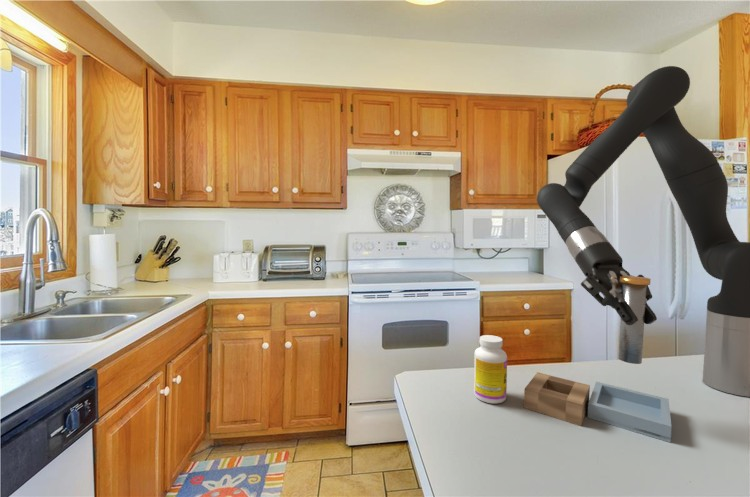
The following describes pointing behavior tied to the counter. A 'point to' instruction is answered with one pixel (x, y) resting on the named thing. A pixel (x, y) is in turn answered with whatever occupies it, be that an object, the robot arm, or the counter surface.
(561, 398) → the socket block
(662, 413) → the tray
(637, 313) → the pin
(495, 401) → the supplement bottle
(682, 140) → the robot arm
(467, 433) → the counter surface
